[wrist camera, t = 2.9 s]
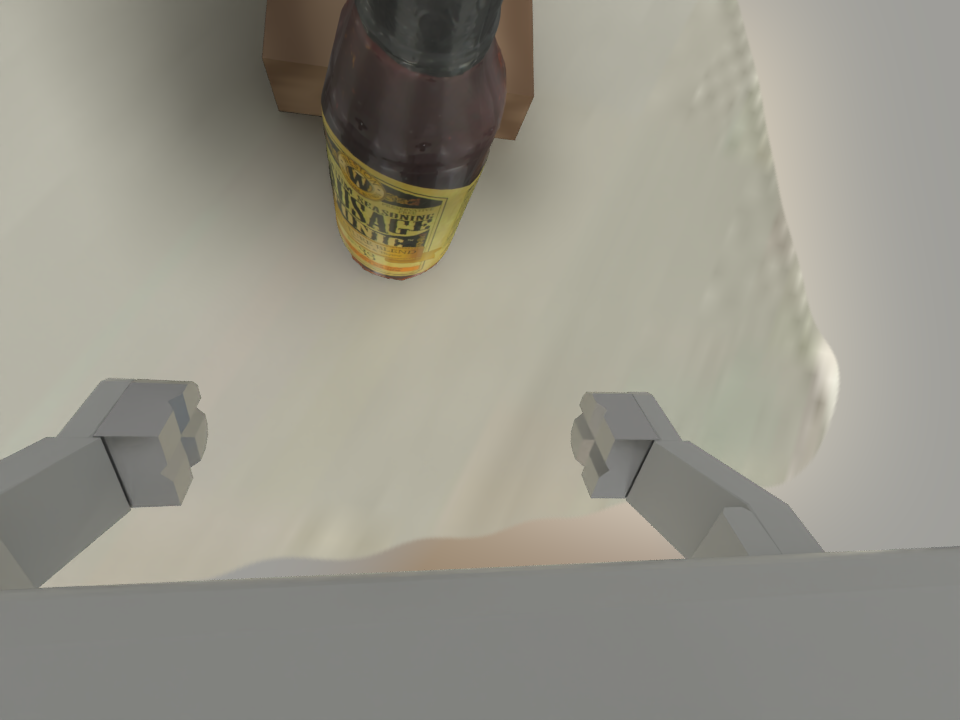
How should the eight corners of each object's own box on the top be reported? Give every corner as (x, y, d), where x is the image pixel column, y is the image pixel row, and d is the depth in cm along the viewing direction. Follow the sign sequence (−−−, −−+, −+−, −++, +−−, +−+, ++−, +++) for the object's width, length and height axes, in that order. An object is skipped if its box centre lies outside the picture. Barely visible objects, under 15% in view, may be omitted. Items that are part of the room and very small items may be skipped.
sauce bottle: (316, 239, 27) (154, -248, 8) (386, 163, 29) (393, -400, 9) (410, 311, 28) (473, 14, 8) (474, 232, 29) (653, -173, 10)
